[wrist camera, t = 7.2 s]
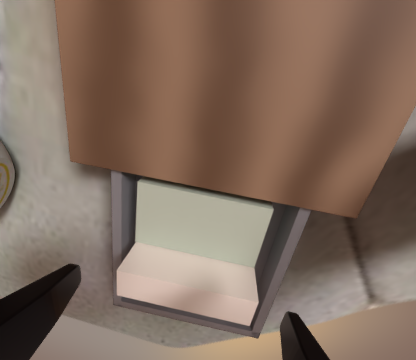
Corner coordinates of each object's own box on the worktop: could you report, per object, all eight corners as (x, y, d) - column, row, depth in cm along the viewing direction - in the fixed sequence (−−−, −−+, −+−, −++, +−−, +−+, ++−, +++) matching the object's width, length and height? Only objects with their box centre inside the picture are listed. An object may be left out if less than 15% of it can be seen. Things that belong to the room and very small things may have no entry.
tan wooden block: (431, -25, 12) (508, -73, 8) (332, 195, 17) (356, 218, 14) (91, -74, 12) (41, -134, 9) (100, 149, 18) (70, 161, 15)
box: (299, 191, 17) (311, 209, 14) (255, 309, 23) (258, 338, 20) (130, 158, 18) (110, 169, 15) (127, 280, 23) (113, 305, 20)
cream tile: (258, 302, 14) (249, 326, 15) (251, 247, 19) (245, 268, 20) (116, 270, 14) (116, 295, 15) (147, 225, 19) (146, 246, 20)
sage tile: (268, 194, 17) (273, 209, 14) (251, 247, 19) (254, 267, 17) (150, 170, 17) (137, 181, 15) (146, 224, 19) (135, 241, 17)
